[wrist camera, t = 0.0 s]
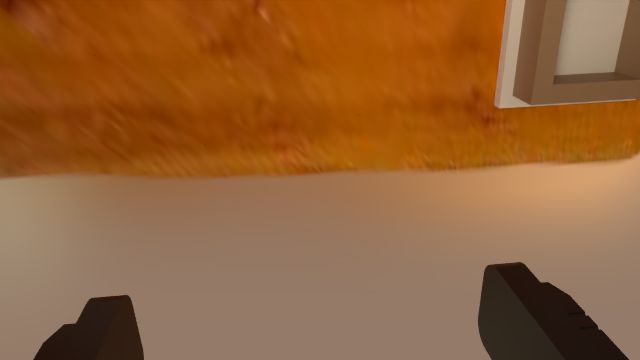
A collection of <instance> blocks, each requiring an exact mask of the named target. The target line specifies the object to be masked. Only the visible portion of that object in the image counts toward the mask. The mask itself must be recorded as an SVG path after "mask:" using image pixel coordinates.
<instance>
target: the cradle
mask: <svg viewBox="0 0 640 360" xmlns="http://www.w3.org/2000/svg"><path fill="white" fill-rule="evenodd" d="M636 99H640V0H506V8H505V16H504V25H503V33H502V42H501V50H500V59H499V67H498V76H497V84H496V93H495V101H494V106H496V107H498V108H514V107H530V106H546V105H563V104H579V103H596V102H612V101H628V100H636Z"/></svg>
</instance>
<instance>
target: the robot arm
mask: <svg viewBox="0 0 640 360" xmlns="http://www.w3.org/2000/svg"><path fill="white" fill-rule="evenodd" d="M478 327H479V333H480V337H481V340H482V343H483V345H484V347H485V349H486V351H487V352H488V354H489V356H490V358H491V359H492V360H629V359H628V358H627V357H626V356H625V355H624V354H623V353H622V352H621V350H620V349H619V348H618V347H617V346H616V345H615V344H614V343H613V342H612V341H611V340H610V339H609V337H608V336H607V335H606V334H605V333H604V332H603V331H602V330H599V329H598V326H597V324H596V323H595V322H594V321H593V320H592V319H591V318H590V317H589V316H586V315H585V312H584V310H583V309H582V308H581V307H580V306H579V305H578V304H577V303H576V302H575V301H574V300H573V299H572V297H571V296H570V295H568V294H566V293H564V292H563V291H561V290H560V289H558V288H557V287H555V286H553V285H552V284H550V283H548V282H545V283H541V282H540V281H539V280H538V279H537V278H536V277H535V276H534V274H533V273H532V272H531V271H530V270H529V269H528V268H527V267H526V265H525V264H523V263H521V262H517V263H505V264H494V265H488V266H487V267H486V269H485V271H484V277H483V285H482V292H481V300H480V308H479V316H478ZM34 360H144V354H143V347H142V344H141V339H140V335H139V331H138V326H137V322H136V318H135V313H134V309H133V305H132V301H131V299H130V297H129V296H128V295H122V296H110V297H100V298H99V297H98V298H91V299H89V301H88V302H87V304H86V305H85V307H84V309H83V311H82V313H81V315H80V317H79V319H78V321H77V322H76V323H75V324H65V325H63V326H62V327H61V328H60V329H58V330H57V331H56V332H55V333H54V334H53V335H52V336H51V337H49V338H48V339H47V340H46V341H45V342H44V343H43V344H42V346H41V348H40V349H39V351H38V353H37V354H36V356H35V358H34Z"/></svg>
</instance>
